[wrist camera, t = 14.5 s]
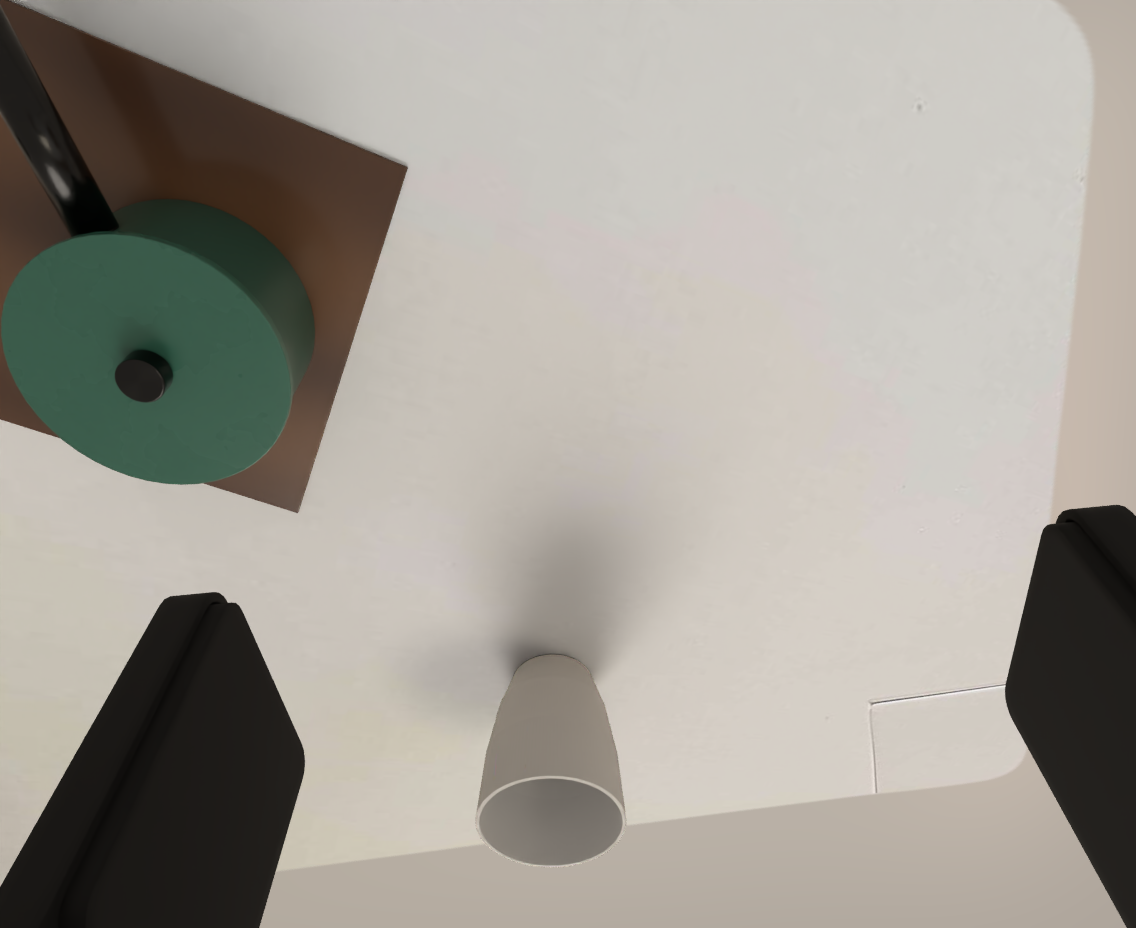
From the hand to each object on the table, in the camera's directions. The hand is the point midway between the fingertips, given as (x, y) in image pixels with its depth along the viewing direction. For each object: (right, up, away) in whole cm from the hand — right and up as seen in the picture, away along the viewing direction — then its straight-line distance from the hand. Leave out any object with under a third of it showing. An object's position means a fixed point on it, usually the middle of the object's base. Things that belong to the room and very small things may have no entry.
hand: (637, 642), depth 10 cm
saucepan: (-19, +13, +28) cm, 36 cm away
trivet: (-20, +10, +29) cm, 37 cm away
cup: (-2, -12, +44) cm, 46 cm away
